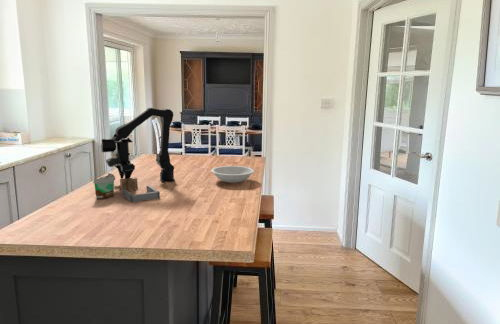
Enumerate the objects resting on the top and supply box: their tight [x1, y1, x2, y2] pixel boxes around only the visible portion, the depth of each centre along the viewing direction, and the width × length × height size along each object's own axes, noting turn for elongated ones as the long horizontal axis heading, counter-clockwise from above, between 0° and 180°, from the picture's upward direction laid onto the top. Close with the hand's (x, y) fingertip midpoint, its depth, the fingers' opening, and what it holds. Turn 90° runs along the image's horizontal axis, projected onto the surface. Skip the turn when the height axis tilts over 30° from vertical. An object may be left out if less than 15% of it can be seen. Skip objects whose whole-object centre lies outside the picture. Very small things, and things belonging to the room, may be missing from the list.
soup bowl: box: [211, 165, 255, 184], centre depth 205 cm, size 24×24×7 cm
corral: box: [121, 185, 161, 203], centre depth 173 cm, size 13×14×3 cm
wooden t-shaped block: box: [119, 176, 139, 192], centre depth 185 cm, size 8×8×5 cm
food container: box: [93, 172, 116, 200], centre depth 171 cm, size 12×6×10 cm, turn 168°
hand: (124, 180), depth 194 cm, fingers open, 9 cm apart
